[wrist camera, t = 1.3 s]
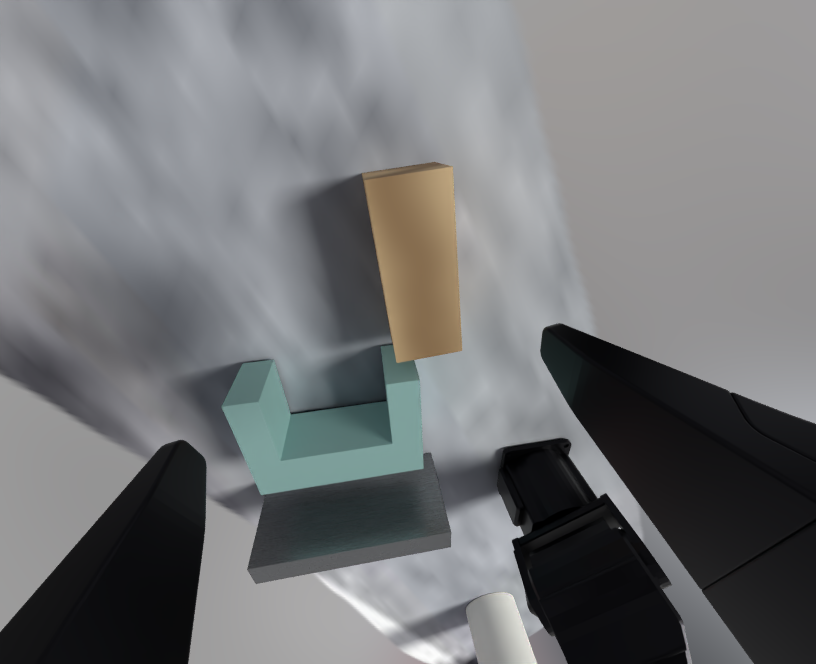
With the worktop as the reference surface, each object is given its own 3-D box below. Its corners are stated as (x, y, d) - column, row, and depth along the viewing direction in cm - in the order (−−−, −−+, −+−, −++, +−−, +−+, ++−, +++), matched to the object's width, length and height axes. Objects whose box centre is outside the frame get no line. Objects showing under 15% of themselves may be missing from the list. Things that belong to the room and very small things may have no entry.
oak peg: (433, 161, 18) (452, 166, 15) (445, 319, 23) (462, 350, 20) (361, 172, 18) (364, 180, 15) (389, 330, 23) (396, 363, 20)
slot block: (409, 342, 23) (419, 379, 20) (414, 425, 27) (423, 468, 24) (242, 363, 22) (221, 406, 18) (273, 446, 26) (261, 495, 22)
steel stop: (430, 452, 30) (451, 532, 24) (431, 481, 32) (450, 560, 26) (269, 478, 28) (247, 569, 22) (280, 506, 30) (263, 596, 24)
